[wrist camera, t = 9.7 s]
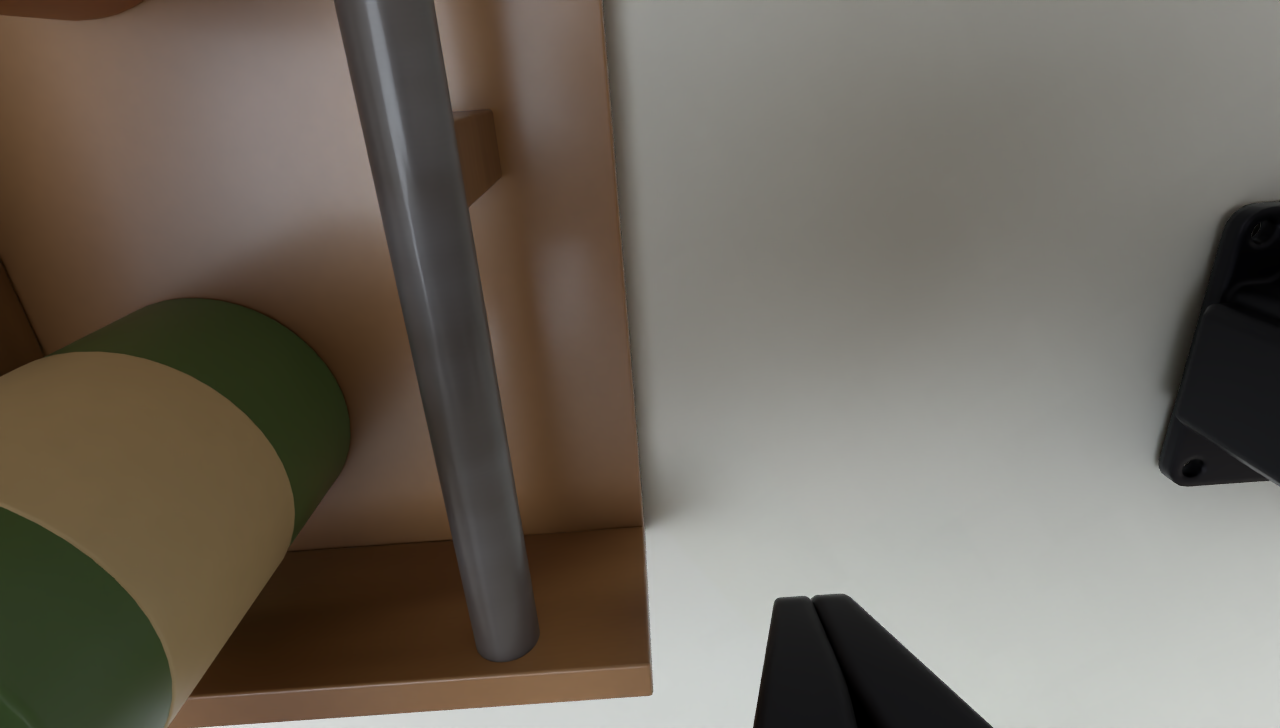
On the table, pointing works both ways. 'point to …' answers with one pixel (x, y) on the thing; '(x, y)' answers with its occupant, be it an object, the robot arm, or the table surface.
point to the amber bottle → (65, 8)
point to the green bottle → (151, 504)
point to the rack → (369, 317)
